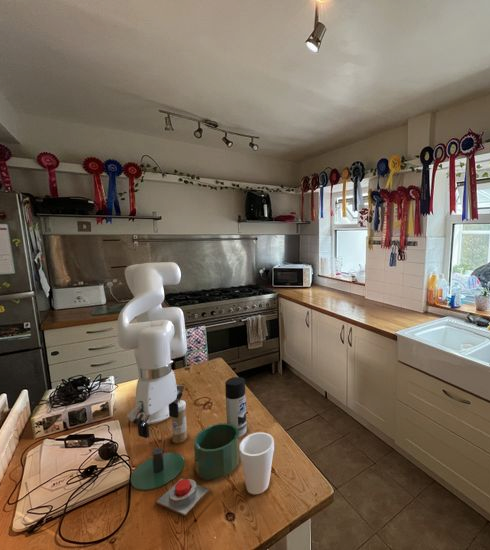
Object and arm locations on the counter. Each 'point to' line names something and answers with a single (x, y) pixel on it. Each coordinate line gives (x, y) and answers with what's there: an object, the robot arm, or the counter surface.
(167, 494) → the grey mounting plate
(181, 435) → the sprinkles bottle
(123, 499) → the counter surface
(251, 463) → the foam cup
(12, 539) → the counter surface
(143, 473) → the pot lid
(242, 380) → the spray can
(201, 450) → the green pot
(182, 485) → the button
